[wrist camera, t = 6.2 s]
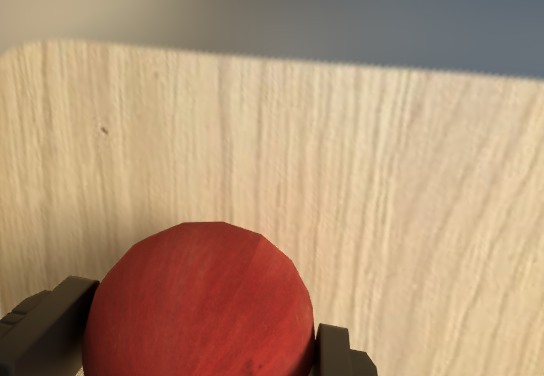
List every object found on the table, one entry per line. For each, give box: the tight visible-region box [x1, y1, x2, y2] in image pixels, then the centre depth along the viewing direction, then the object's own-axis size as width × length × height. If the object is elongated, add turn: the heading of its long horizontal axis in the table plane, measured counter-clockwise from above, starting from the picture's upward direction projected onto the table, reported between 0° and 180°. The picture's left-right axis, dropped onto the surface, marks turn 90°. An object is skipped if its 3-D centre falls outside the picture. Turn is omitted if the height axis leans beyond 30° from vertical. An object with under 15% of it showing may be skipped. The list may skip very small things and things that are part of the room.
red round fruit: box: [81, 222, 315, 376], centre depth 12 cm, size 6×6×8 cm
